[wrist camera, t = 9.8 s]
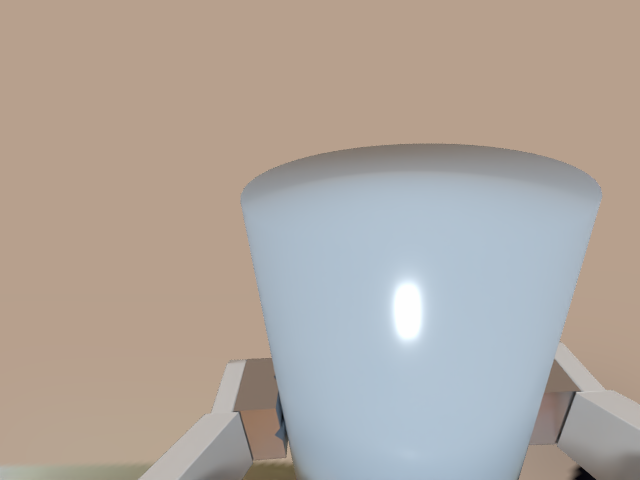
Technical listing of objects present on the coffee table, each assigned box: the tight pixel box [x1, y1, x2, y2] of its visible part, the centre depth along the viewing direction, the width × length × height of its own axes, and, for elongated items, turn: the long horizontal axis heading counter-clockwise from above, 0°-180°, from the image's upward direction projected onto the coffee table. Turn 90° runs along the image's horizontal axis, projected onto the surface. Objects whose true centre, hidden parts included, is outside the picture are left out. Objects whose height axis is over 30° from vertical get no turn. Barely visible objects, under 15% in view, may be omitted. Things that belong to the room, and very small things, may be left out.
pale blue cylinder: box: [241, 144, 602, 480], centre depth 9 cm, size 6×6×12 cm
